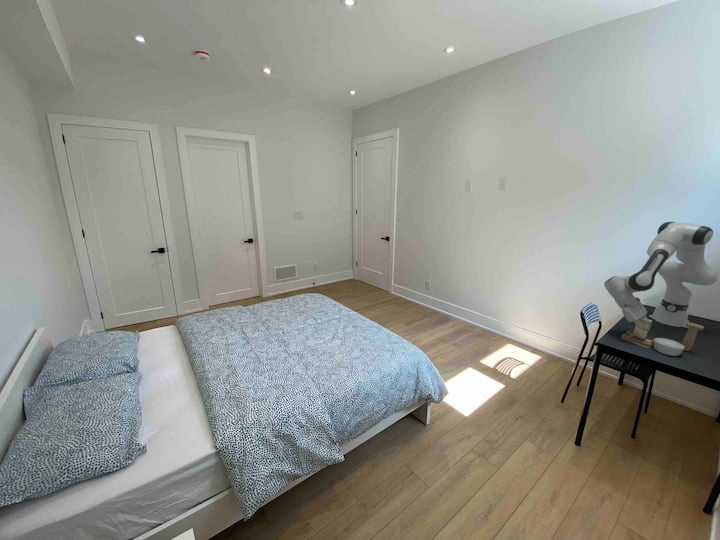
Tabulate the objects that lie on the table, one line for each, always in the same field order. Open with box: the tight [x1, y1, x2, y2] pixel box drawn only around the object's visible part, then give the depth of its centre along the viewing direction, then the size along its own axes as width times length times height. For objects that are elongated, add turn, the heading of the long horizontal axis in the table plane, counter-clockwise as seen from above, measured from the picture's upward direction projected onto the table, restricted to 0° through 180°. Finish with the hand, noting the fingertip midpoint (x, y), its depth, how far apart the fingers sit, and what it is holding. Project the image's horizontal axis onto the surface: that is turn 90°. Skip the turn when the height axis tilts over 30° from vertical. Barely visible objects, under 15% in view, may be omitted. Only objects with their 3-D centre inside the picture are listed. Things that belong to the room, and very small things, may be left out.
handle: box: [681, 322, 705, 352], centre depth 157 cm, size 5×6×15 cm
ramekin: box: [653, 337, 685, 357], centre depth 156 cm, size 11×11×5 cm
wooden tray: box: [620, 330, 655, 349], centre depth 167 cm, size 13×12×2 cm
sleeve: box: [632, 317, 653, 342], centre depth 165 cm, size 5×5×12 cm
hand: (644, 325), depth 164 cm, fingers open, 8 cm apart
